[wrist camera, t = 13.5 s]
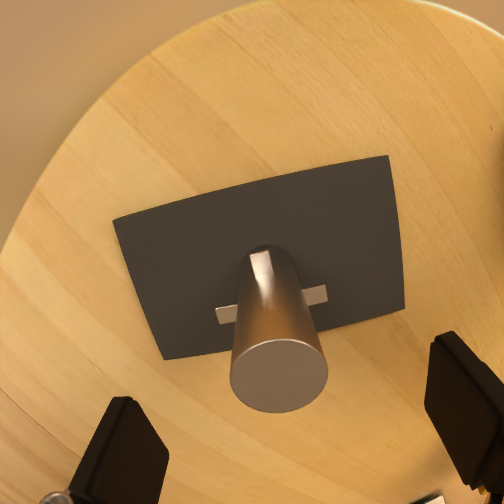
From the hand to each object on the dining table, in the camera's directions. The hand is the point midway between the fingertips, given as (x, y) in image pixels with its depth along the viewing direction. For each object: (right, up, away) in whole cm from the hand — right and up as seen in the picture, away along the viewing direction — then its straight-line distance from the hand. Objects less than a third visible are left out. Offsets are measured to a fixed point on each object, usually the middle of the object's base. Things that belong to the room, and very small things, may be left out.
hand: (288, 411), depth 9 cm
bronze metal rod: (0, +4, +14) cm, 14 cm away
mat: (0, +4, +14) cm, 15 cm away
